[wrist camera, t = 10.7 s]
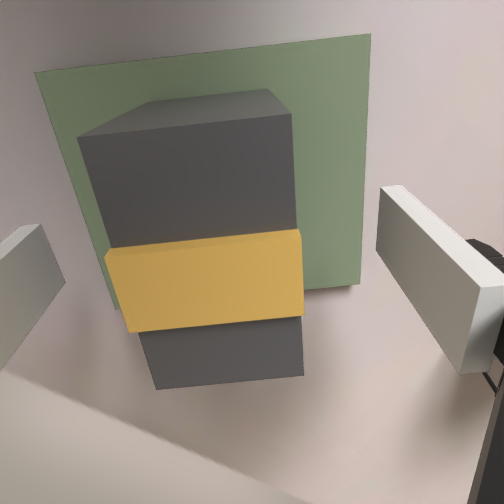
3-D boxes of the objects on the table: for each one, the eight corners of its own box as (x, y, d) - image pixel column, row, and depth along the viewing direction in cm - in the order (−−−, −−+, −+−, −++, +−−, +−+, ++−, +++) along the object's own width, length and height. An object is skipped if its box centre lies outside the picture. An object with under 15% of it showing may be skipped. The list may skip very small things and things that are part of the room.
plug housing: (146, 102, 18) (65, 142, 10) (269, 88, 18) (296, 116, 10) (184, 274, 23) (151, 402, 14) (281, 264, 23) (307, 387, 14)
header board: (45, 71, 19) (-12, 75, 14) (363, 34, 18) (401, 28, 14) (120, 298, 25) (96, 347, 21) (354, 274, 25) (378, 319, 21)
